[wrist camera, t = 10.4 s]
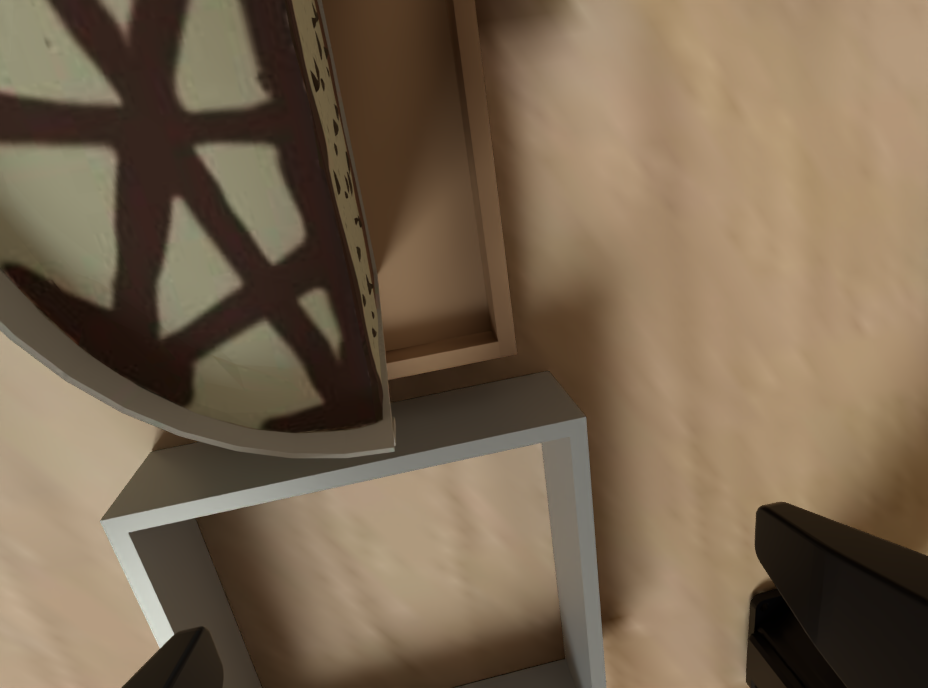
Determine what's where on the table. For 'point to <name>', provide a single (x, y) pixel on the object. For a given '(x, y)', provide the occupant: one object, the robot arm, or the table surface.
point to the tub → (417, 446)
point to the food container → (191, 221)
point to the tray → (425, 178)
